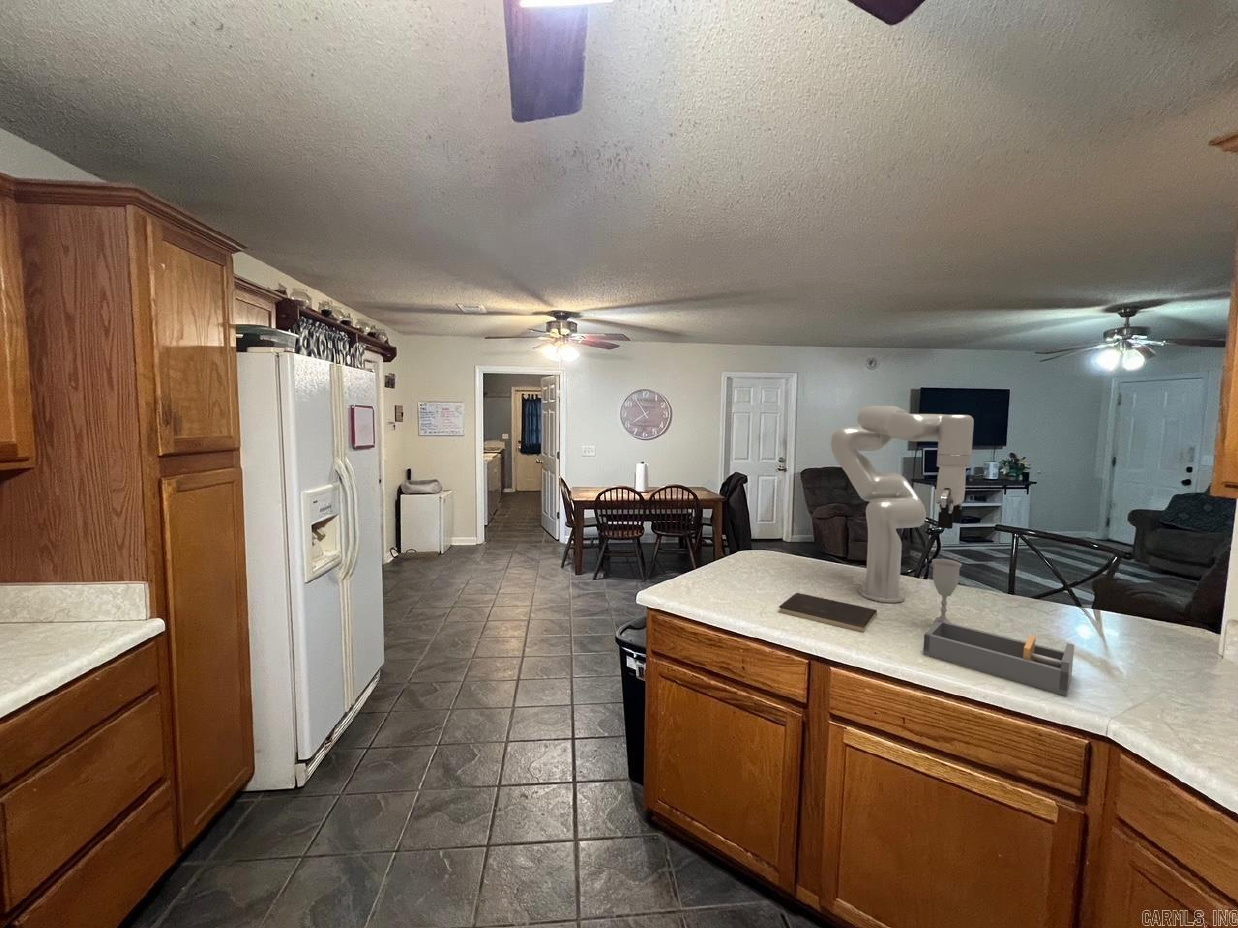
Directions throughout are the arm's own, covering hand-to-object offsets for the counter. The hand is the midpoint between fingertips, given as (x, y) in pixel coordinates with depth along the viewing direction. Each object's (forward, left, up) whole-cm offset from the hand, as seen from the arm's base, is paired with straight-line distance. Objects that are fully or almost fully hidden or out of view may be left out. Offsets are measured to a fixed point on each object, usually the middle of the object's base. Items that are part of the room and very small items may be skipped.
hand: (949, 525), depth 136 cm
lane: (+14, -16, -28) cm, 35 cm away
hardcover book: (-26, -13, -29) cm, 41 cm away
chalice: (0, 0, -28) cm, 28 cm away
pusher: (+23, -16, -27) cm, 38 cm away
